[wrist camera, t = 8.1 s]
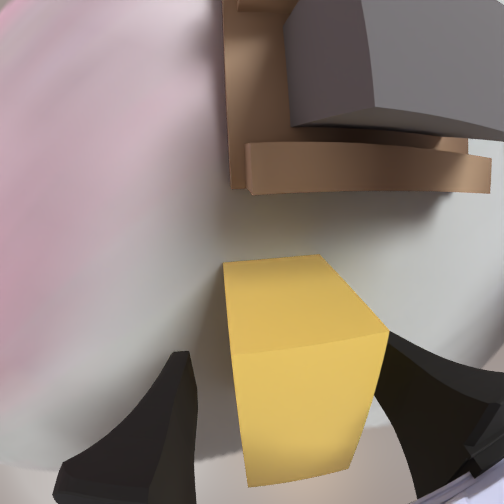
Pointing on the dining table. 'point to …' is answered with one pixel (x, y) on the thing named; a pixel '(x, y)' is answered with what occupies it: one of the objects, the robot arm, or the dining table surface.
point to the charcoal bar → (397, 66)
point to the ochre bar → (299, 366)
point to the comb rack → (319, 138)
